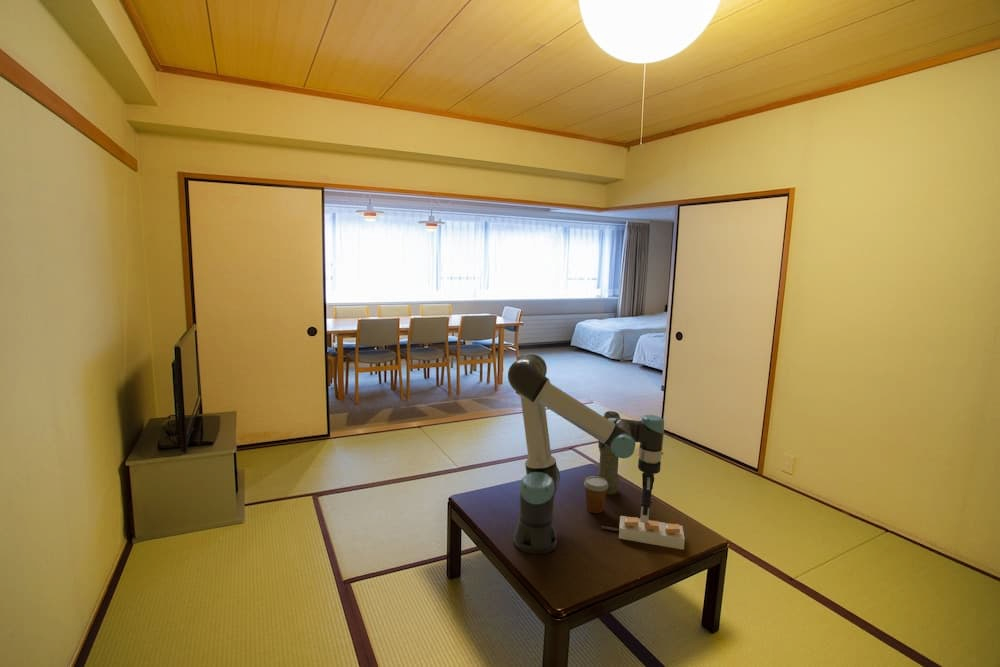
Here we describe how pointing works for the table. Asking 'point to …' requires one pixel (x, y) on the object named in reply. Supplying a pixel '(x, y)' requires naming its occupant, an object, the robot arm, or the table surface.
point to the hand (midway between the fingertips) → (644, 521)
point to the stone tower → (609, 462)
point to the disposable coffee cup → (595, 493)
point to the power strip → (650, 534)
